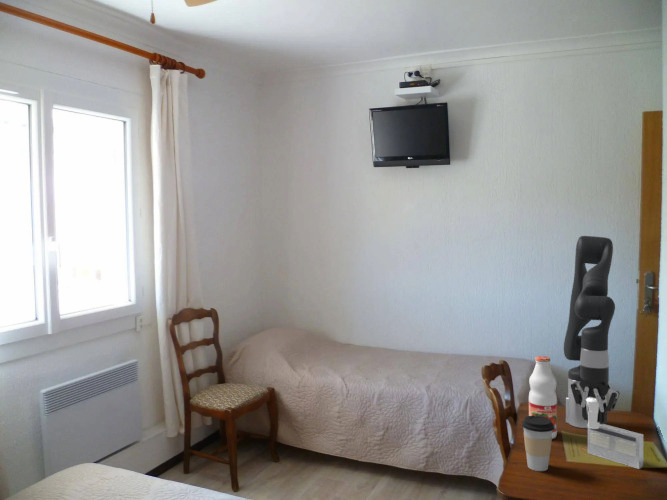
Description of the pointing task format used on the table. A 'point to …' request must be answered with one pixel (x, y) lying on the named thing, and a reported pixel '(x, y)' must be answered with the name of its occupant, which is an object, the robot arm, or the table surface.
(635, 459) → the panel
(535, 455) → the coffee cup
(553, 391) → the fruit juice
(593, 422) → the milkshake
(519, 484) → the table surface
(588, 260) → the robot arm
